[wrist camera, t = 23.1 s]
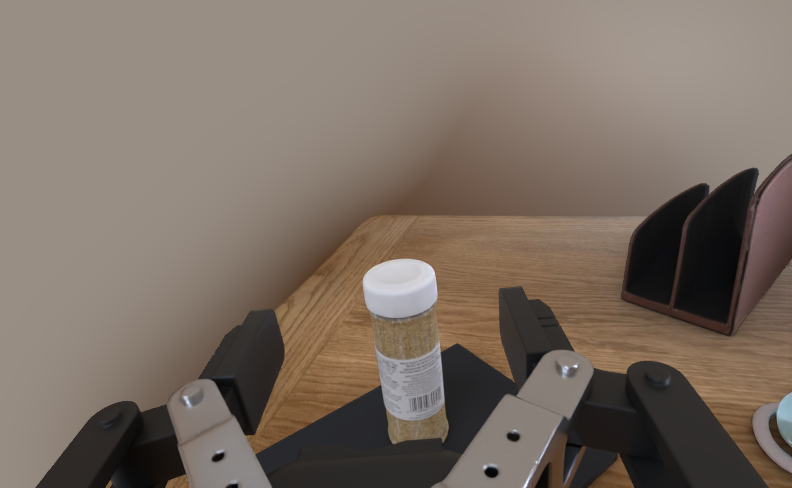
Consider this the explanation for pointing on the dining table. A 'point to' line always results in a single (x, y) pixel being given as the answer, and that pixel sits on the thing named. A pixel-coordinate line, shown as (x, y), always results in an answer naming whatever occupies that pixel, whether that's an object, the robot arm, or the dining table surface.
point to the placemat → (464, 406)
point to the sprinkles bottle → (407, 348)
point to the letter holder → (713, 250)
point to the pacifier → (788, 421)
